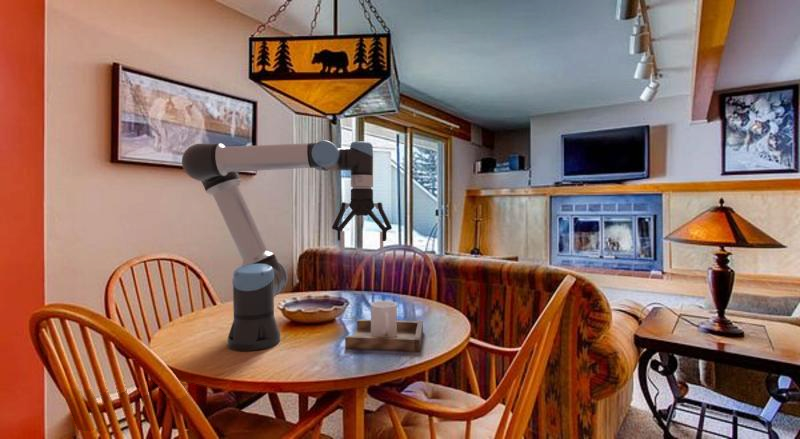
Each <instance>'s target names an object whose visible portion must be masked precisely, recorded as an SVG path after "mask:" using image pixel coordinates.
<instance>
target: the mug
mask: <svg viewBox="0 0 800 439" xmlns="http://www.w3.org/2000/svg"><path fill="white" fill-rule="evenodd" d="M370 320H371V336H377V337H395V336H396V334H397V321H398V304H397V303H396V302H395V301H392V300H376V301H373V302H371V303H370Z"/></svg>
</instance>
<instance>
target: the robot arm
mask: <svg viewBox="0 0 800 439" xmlns="http://www.w3.org/2000/svg"><path fill="white" fill-rule="evenodd" d="M373 148H374V147H373V144H372V143H371V142H369V141H368V142H367V141H362V140H361V141H353V142H351V143H350V145H349V147H341V148H340V147H338V146H337V145H336V144H335V143H334V142H332V141H330V140H329V141H328V140H325V139H324V140H319V141H317V142H305V143H304V142H302V143H286V144H285V143H284V144H283V143H281V144H264V145H263V144H261V145H241V146H240V145H239V146H225V144H223V143H196V144H193V145H191V146H189V147H187V149H186V150H185V151H184V152H183V153H182V154H183V155H182V158H181V165H182V169H183V170H184V172H185V174H186V175H188V176H189V177H190V178H192V179H193V180H196V181H199V182H201V183H202V186H203V187H204V190H205V192H206V194H209V195H211V196H212V197H213V198H214V200H215V202H216V205H217V207H218V209H219V212H220V213H221V215H222V218H223V220H224V222H225V224H226V227H227V229H228V231H229V233H230V235H231V237H232V240H233V243H234V244H235V246H236V249H237V250H238V251H237V252H238V253H239V255H240V257H241V260H242V264H241V266H239V267H237V268H236V269H235V270H234V271H233V273H232V274H233V275H232V276H233V278H232V280H231V281H232V292H233V293H232V296H233V298H232V300H233V301H232V302H233V308H232V309H233V319H232V320H233V321H232V324H231V327H230V330H229V334H228V336H227V347H228V348H229V349H230V350H234V351H239V352H253V351H259V350H265V349H269V348H271V347H274V346H276V345H277V344H278V343H280V341H281V332H280V329H279V325H278V324H277V321H276V318H275V303H274V302H275V297H276V296H278V295H279V294H281V293H282V291H283V290H284V289H285V287H286V285H287V282H288V273H287V270H286V268H285V267H284V265H282V264H281V263H280V262H279V261H278V259H277V257H276V255H275V253H274V252H271V251H269V250H268V248H267V245H266V244H265V242H264V239H263V237H262V235H261V232H260V231H259V228H258V226H257V224H256V221H255V218H254V217H253V215H252V213H251V210H250V209H249V208H250V207H249V206H248V203H247V201H246V199H245V197H244V195H243V193H242V191H241V188H240V184H241V182H242V179H241V177H240V175H239V173H240V172H241V173H242V172H257V171H274V170H275V171H276V170H278V171H279V170H295V169H316V170H317V171H325V172H327V171H350V187H351V189H350V201H349V202H346V201H344V202H343V201H342V202H341V206H340V210H339V212H338V213H337V216H336V217H335V218H336V219H335V220H334V223H333V224H332V227H331V229H332V230H335V231H337V241H338V242H340V243H339V244H340V250H339V251H345V246H346V245H345V241H346V240H345V239H346V238H345V230H344V228H346V226H347V224H349V222H350V221H351V220H352V219H353V218H354V216H366V217H367V216H368V217H370V218H371V219H372V220H373V221H374V223H375V224H376V225H377V226H378V228H380V230H381V231H379V251H380V252H383V251H384V242H386V241H387V232H388V231H391V230H392V228H393V227H392V225H391V222H390V220H389V219H388V217H387V214H386V213H385V210H384V206H383V202H380V201H379V202H376V203H374V190H373V187H374V174H373V173H374V150H373ZM348 208H350V210H351V211H349V212H350V213H348V215H347V216H346V218H345V219H344V220H343V221H342V219H343V216H344V215H345V212H346V211H347V210H348ZM374 208H375V209H377V210H378V212H379V214H380V216H381V218H382V220H383V222H384V224H385V225H384V224H383V222H382V221H381V220H380V219H379V218H378V217H377V215H376V214H375V213H374V212H373V209H374ZM341 221H342V222H341ZM340 223H341V224H340Z"/></svg>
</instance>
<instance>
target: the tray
mask: <svg viewBox="0 0 800 439" xmlns="http://www.w3.org/2000/svg"><path fill="white" fill-rule="evenodd" d="M423 333H424V321H421V320H397V334H396V336H395V337H377V336H371V319H364V318H363V319H362V318H359V319H357V320H356V330H355V331H354V333H353V335H349V334H348V335H345V337H344V346H345V348H344V349H345V350H361V351H363V350H365V351H384V352H385V351H391V352H409V353H411V352H414V353H420V352H421V347H422V340H423Z"/></svg>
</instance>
